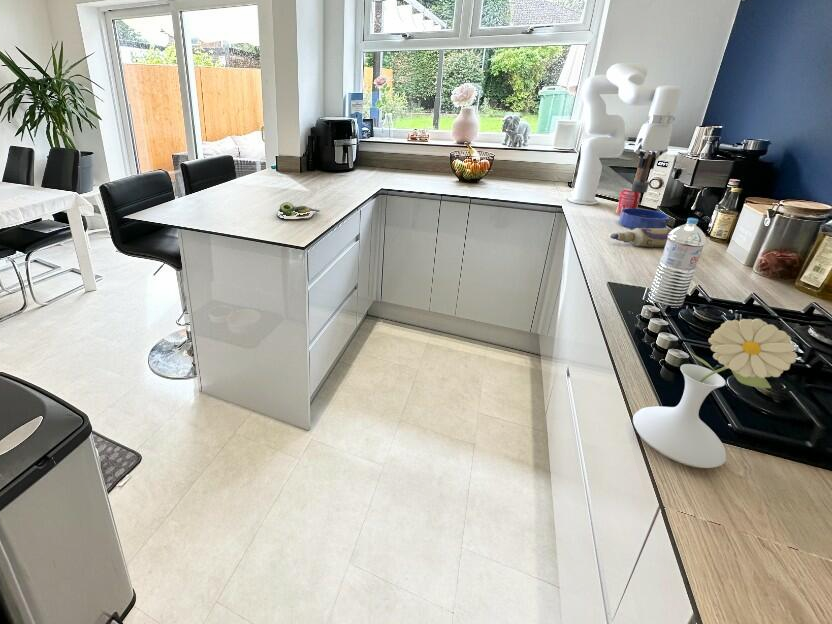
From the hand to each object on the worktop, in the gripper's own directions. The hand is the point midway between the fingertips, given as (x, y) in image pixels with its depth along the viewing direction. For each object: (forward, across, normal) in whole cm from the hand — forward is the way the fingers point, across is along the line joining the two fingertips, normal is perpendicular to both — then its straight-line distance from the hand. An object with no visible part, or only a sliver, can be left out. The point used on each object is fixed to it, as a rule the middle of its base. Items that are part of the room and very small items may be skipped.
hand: (645, 168), depth 158 cm
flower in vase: (+23, +73, +110) cm, 134 cm away
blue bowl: (+24, -3, +2) cm, 24 cm away
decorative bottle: (+24, +10, +23) cm, 35 cm away
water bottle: (+23, +43, +69) cm, 84 cm away
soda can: (+24, -8, -13) cm, 28 cm away
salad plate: (+24, +141, -18) cm, 145 cm away
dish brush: (+9, 0, 0) cm, 9 cm away
